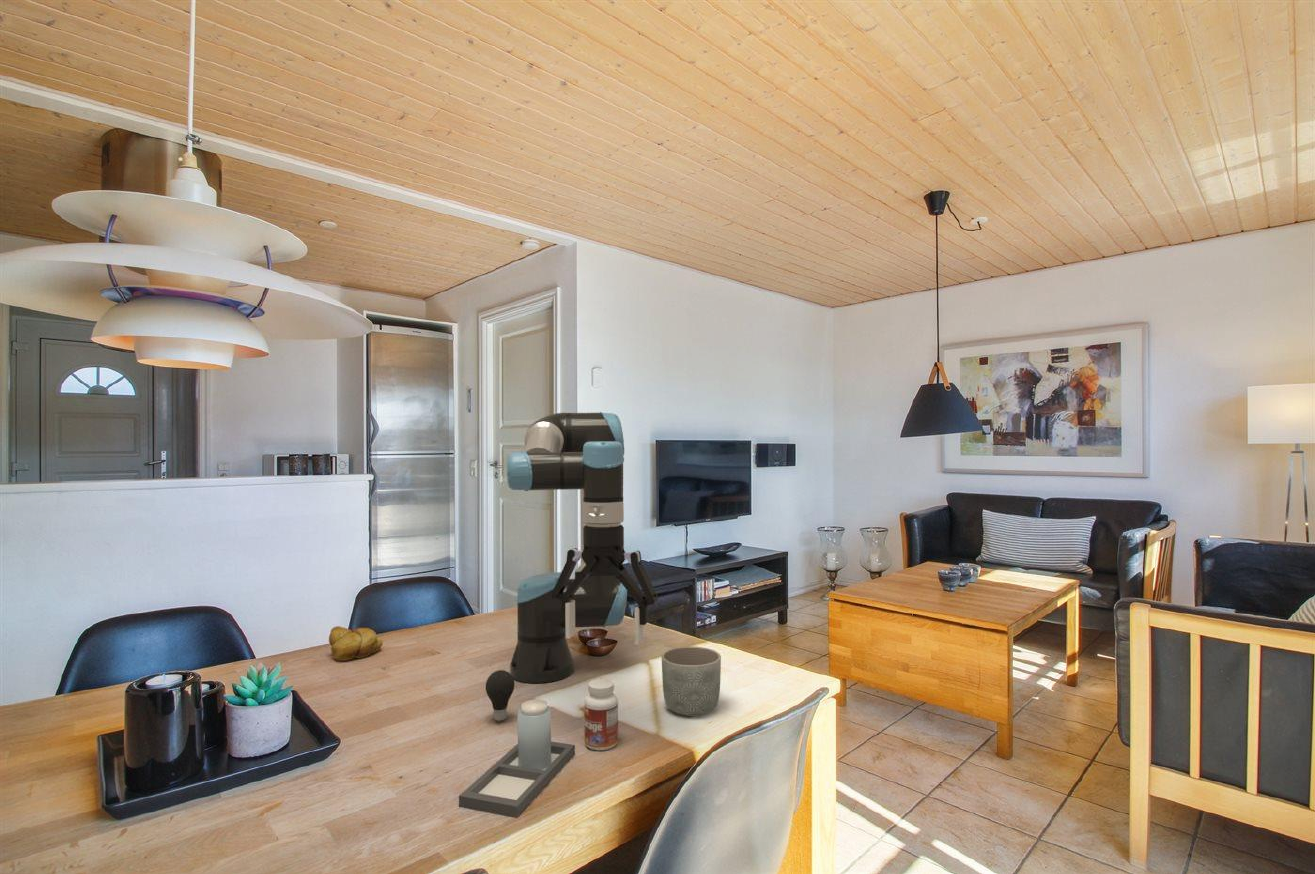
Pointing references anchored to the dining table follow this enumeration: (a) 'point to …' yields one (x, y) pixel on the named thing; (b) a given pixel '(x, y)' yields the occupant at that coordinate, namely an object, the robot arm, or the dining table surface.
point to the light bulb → (500, 692)
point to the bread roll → (353, 643)
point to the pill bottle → (601, 715)
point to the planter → (691, 680)
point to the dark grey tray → (513, 782)
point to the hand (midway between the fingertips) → (604, 639)
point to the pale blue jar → (534, 735)
